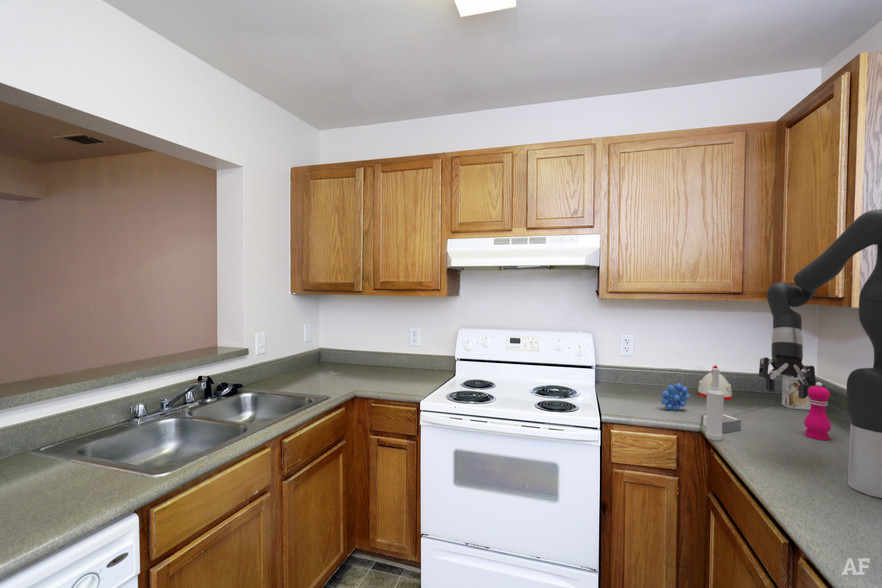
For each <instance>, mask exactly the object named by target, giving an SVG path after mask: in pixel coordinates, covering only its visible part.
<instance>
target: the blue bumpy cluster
mask: <svg viewBox="0 0 882 588" xmlns="http://www.w3.org/2000/svg"><path fill="white" fill-rule="evenodd" d="M688 392H689V388H688V387H687V386H683V385H682V383H678V382H677V383H675V385H674V384H669V385H668V386H667V388H666V390H664V391H662V392H661V397H663V398H661V399H660V402H661V404H662V405H665V406H664V408H665V409H666V410H667V411H671V410H673V411H679V410H680V408H684V407H685V406H686V405H687V403H688V402H687V400H690V397H691V395H690V393H688Z"/></svg>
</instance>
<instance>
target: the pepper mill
mask: <svg viewBox="0 0 882 588" xmlns="http://www.w3.org/2000/svg"><path fill="white" fill-rule="evenodd" d="M808 396H809V397H810V399H809V403H810V405H811V408H810V410H809V413H808V414H807V415H806V417H805V418H804V420H803V425H804V427H805V428H806V429H805V433H804V434H805V436H806V437H808V438H811V439H815V440H819V441H828V440H829V439H830V438H829V437H830V435H829V432H830V431H831V429H832V425H831V422H830V420H829V418H828V416H827V413H826V407H827V406H828V404H829V401H828V400H829V398H830V397H831V393H830V391H829V390H828V389H827V388H825V387H824V386H823V383H822V382H821V381H820V382H819V381H818V382H817V381H816V384H815V385H814V386H813V387H810V388H809V389H808Z"/></svg>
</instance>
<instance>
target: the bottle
mask: <svg viewBox="0 0 882 588" xmlns="http://www.w3.org/2000/svg"><path fill="white" fill-rule="evenodd" d="M711 372H712V374H713V375H712V387H711V389H709V390H708V391H707V398H706V414H707V422H706V427H705V428H706V429H705V432H704V433H705V438H707V439H708V440H711V441H716V442H718V441H719V442H720V441H723V438H724V437H723V436H724V435H723V434H724V433H722V422H723V414H724V402H725V400H724V393H723V392H722V391H721V390H720V388H719V373H720V369H719V368H718V369H716V368H713V367H712V369H711Z"/></svg>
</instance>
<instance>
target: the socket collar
mask: <svg viewBox="0 0 882 588" xmlns="http://www.w3.org/2000/svg"><path fill="white" fill-rule="evenodd" d="M706 422H707V413H705V414H701V415H700V425H701V426H703V427H705V428H706ZM741 428H742V419H739V418H735V417H733V416H730V415H727V414H724V413H723V422H722V434H727V433H736V432H740V431H742V429H741Z"/></svg>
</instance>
